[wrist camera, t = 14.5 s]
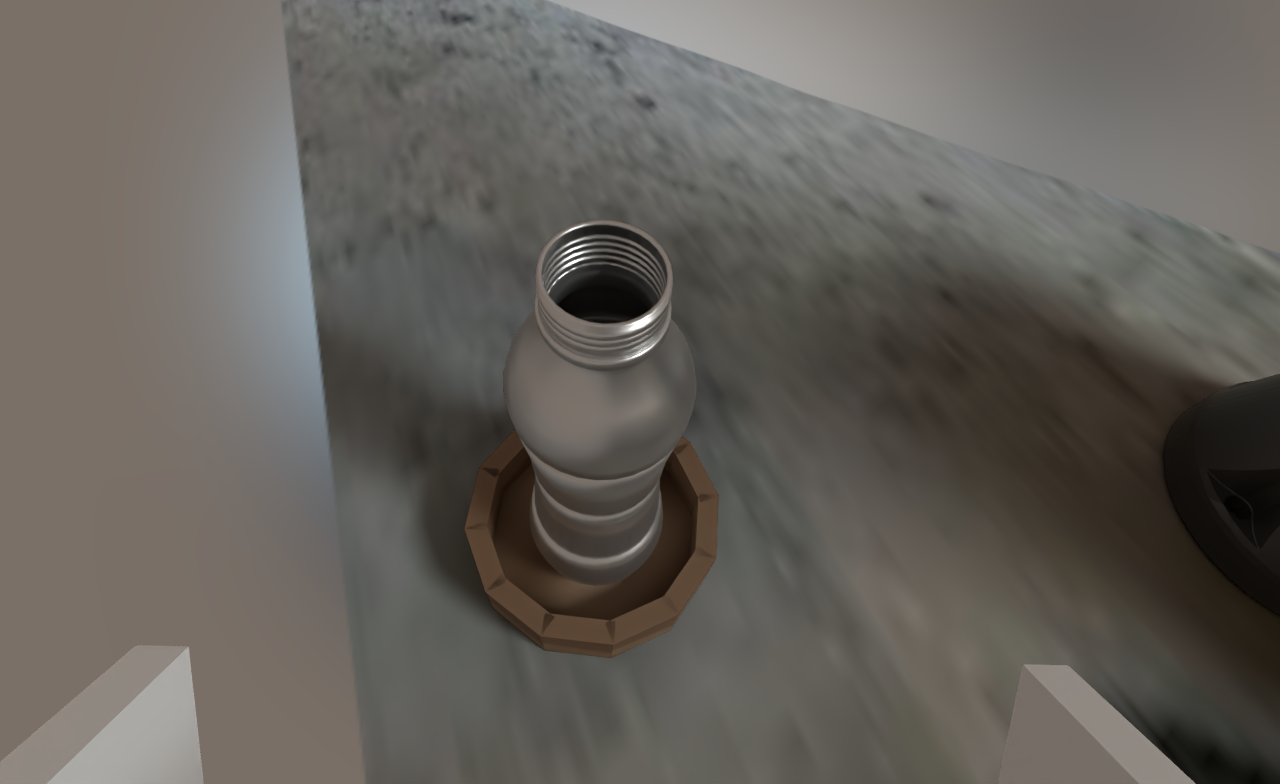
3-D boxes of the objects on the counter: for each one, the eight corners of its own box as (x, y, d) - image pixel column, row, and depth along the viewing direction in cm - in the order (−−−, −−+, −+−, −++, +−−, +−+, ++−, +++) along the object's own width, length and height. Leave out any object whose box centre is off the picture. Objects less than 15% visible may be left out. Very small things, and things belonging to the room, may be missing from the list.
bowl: (747, 514, 36) (761, 489, 33) (617, 709, 31) (621, 700, 28) (575, 398, 39) (575, 366, 36) (429, 557, 34) (414, 535, 31)
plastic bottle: (540, 606, 32) (485, 399, 15) (527, 478, 35) (470, 188, 18) (669, 585, 33) (759, 367, 16) (645, 462, 36) (697, 172, 19)
